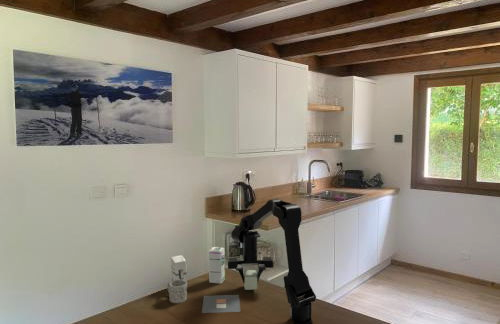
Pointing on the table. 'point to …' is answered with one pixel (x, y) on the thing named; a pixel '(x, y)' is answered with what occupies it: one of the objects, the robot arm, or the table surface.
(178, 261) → the ink box
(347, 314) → the table surface
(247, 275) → the sage block
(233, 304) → the tile
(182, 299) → the mug
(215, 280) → the syrup box
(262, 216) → the robot arm
